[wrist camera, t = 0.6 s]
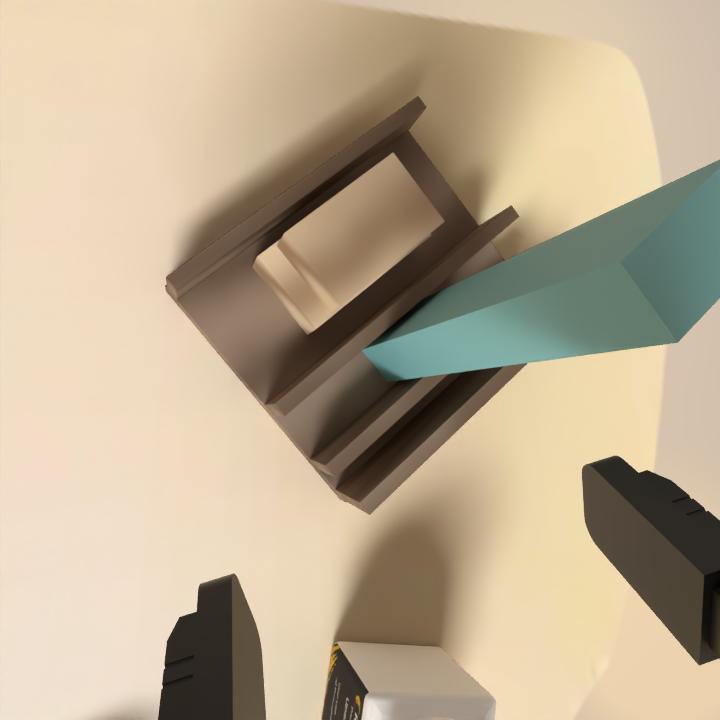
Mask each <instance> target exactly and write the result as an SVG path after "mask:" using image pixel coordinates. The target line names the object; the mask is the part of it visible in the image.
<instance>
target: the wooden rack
mask: <svg viewBox="0 0 720 720" xmlns="http://www.w3.org/2000/svg"><path fill="white" fill-rule="evenodd" d="M425 109H426V106H425V105H424V103H423V102H422V101H421V99H420V98H419V96H418V97H416V98H415V99H413V100H412V101H411V102H409V103H408V104H406V105H405V106H404V107H402V108H401V109H399V110H398V111H397V112H395V113H394V114H393V115H391V116H390V117H388V118H387V119H386V120H384V121H383V122H381V123H380V124H379V125H377V126H376V127H374V128H373V129H372V130H370V131H369V132H367V133H366V134H365V135H363V136H362V137H360V138H359V139H358V140H356V141H355V142H353V143H352V144H351V145H349V146H348V147H346V148H345V149H344V150H342V151H341V152H340V153H338V154H337V155H335V156H334V157H333V158H331V159H330V160H328V161H327V162H326V163H324V164H323V165H321V166H320V167H319V168H317V169H316V170H314V171H313V172H312V173H310V174H309V175H307V176H306V177H305V178H303V179H302V180H300V181H299V182H298V183H296V184H295V185H293V186H292V187H291V188H289V189H288V190H287V191H285V192H284V193H282V194H281V195H280V196H278V197H277V198H275V199H274V200H273V201H271V202H270V203H268V204H267V205H266V206H264V207H263V208H261V209H260V210H259V211H257V212H256V213H254V214H253V215H252V216H250V217H249V218H247V219H246V220H245V221H243V222H242V223H240V224H239V225H238V226H236V227H235V228H233V229H232V230H231V231H229V232H228V233H227V234H225V235H224V236H222V237H221V238H220V239H218V240H217V241H215V242H214V243H213V244H211V245H210V246H208V247H207V248H206V249H204V250H203V251H201V252H200V253H199V254H197V255H196V256H194V257H193V258H192V259H190V260H189V261H187V262H186V263H185V264H183V265H182V266H180V267H179V268H178V269H176V270H175V271H174V272H172V273H171V274H169V275H168V276H167V277H166V281H167V285H166V286H165V287H166V292H167V293H168V294H169V295H170V296H171V297H172V299H173V300H174V301H175V302H176V303H177V305H178V306H179V307H180V308H181V309H182V311H183V312H184V313H185V314H186V315H187V317H188V318H189V319H190V320H191V321H192V323H193V324H194V325H195V326H196V327H197V329H198V330H199V331H200V332H201V333H202V335H203V336H204V337H205V338H206V339H207V341H208V342H209V343H210V344H211V345H212V347H213V348H214V349H215V350H216V351H217V353H218V354H219V355H220V356H221V357H222V359H223V360H224V361H225V362H226V363H227V364H228V366H229V367H230V368H231V369H232V370H233V372H234V373H235V374H236V375H237V376H238V378H239V379H240V380H241V381H242V382H243V384H244V385H245V386H246V387H247V388H248V390H249V391H250V392H251V393H252V394H253V396H254V397H255V398H256V399H257V400H258V402H259V403H260V404H261V405H262V406H263V408H264V409H265V410H266V411H267V412H268V414H269V415H270V416H271V417H272V418H273V420H274V421H275V422H276V423H277V424H278V426H279V427H280V428H281V429H282V430H283V431H284V433H285V434H286V435H287V436H288V437H289V439H290V440H291V441H292V442H293V443H294V445H295V446H296V447H297V448H298V449H299V451H300V452H301V453H302V454H303V455H304V457H305V458H306V459H307V460H308V461H309V463H310V464H311V465H312V466H313V467H314V469H315V470H316V471H317V472H318V473H319V475H320V476H321V477H322V478H323V479H324V481H325V482H326V483H327V484H328V485H329V487H330V488H331V489H332V490H333V491H334V493H335V494H336V495H337V496H338V497H339V498H340V499H341V500H343V501H344V502H348V503H350V504H352V505H354V506H355V507H357V508H359V509H361V510H362V511H364V512H366V513H367V514H369V515H370V514H371V513H372V512H373V511H374V510H375V509H376V508H377V507H378V506H379V505H380V504H381V503H382V502H384V501H385V500H386V499H387V498H388V497H389V496H390V495H391V494H392V493H393V492H394V491H395V490H396V489H397V488H398V487H399V486H400V485H401V484H402V483H403V482H404V481H405V480H406V479H407V478H409V477H410V476H411V475H412V474H413V473H414V472H415V471H416V470H417V469H418V468H419V467H420V466H421V465H422V464H423V463H424V462H425V461H426V460H427V459H428V458H429V457H430V456H431V455H432V454H434V453H435V452H436V451H437V450H438V449H439V448H440V447H441V446H442V445H443V444H444V443H445V442H446V441H447V440H448V439H449V438H450V437H451V436H452V435H453V434H454V433H455V432H456V431H458V430H459V429H460V428H461V427H462V426H463V425H464V424H465V423H466V422H467V421H468V420H469V419H470V418H471V417H472V416H473V415H474V414H475V413H476V412H477V411H478V410H479V409H480V408H481V407H483V406H484V405H485V404H486V403H487V402H488V401H489V400H490V399H491V398H492V397H493V396H494V395H495V394H496V393H497V392H498V391H499V390H500V389H501V388H502V387H503V386H504V385H505V384H506V383H508V382H509V381H510V380H511V379H512V378H513V377H514V376H515V375H516V374H517V373H518V372H519V371H520V370H521V369H522V368H523V367H524V366H525V365H526V364H527V363H523V364H516V365H509V366H501V367H494V368H487V369H479V370H472V371H465V372H457V373H450V374H443V375H435V376H428V377H421V378H413V379H406V380H399V381H391V382H386V380H385V379H384V378H383V377H382V375H381V374H380V373H379V372H378V370H377V369H376V368H375V367H374V365H373V364H372V363H371V362H370V360H369V359H368V358H367V357H366V355H365V354H364V353H363V352H362V350H363V349H364V348H366V347H367V346H368V345H369V344H370V343H371V342H373V341H374V340H375V339H376V338H377V337H378V336H380V335H381V334H382V333H383V332H384V331H385V330H387V329H388V328H389V327H390V326H391V325H393V324H394V323H395V322H396V321H397V320H398V319H400V318H401V317H402V316H403V315H404V314H405V313H407V312H408V311H409V310H410V309H411V308H412V307H414V306H415V305H416V304H417V303H418V302H420V301H421V300H422V299H423V298H426V297H428V296H430V295H432V294H434V293H436V292H438V291H440V290H443V289H445V288H447V287H449V286H451V285H453V284H455V283H458V282H460V281H462V280H464V279H466V278H468V277H470V276H473V275H475V274H477V273H479V272H481V271H483V270H485V269H487V268H490V267H492V266H494V265H496V264H498V263H500V262H502V261H505V260H504V259H503V258H502V256H501V255H500V254H499V252H498V251H497V250H496V248H495V247H494V246H493V244H492V243H491V242H490V241H491V240H492V239H494V238H495V237H496V236H497V235H498V234H499V233H501V232H502V231H503V230H504V229H505V228H506V227H508V226H509V225H510V224H511V223H512V222H513V221H515V220H516V219H517V218H518V217H519V215H518V214H517V212H516V211H515V210H514V208H513V207H512V206H510V207H508V208H507V209H505V210H503V211H502V212H500V213H499V214H497V215H495V216H494V217H492V218H491V219H489V220H487V221H486V222H484V223H483V224H481V225H478V224H477V223H476V221H475V220H474V219H473V217H472V216H471V215H470V213H469V212H468V211H467V209H466V208H465V207H464V205H463V204H462V203H461V201H460V200H459V198H458V197H457V196H456V194H455V193H454V192H453V190H452V189H451V188H450V186H449V185H448V184H447V182H446V181H445V180H444V178H443V177H442V176H441V174H440V173H439V172H438V170H437V169H436V168H435V166H434V165H433V164H432V162H431V161H430V159H429V158H428V157H427V155H426V154H425V153H424V151H423V150H422V149H421V147H420V146H419V145H418V143H417V142H416V141H415V139H414V138H413V137H412V135H411V134H410V133H409V131H408V130H409V129H410V128H411V126H412V125H413V124H414V122H415V121H416V120H417V119H418V117H419V116H420V115H421V114H422V112H423V111H424V110H425ZM392 153H394V154H395V155H396V157H397V158H398V159H399V161H400V162H401V163H402V165H403V166H404V167H405V169H406V170H407V171H408V173H409V174H410V175H411V177H412V178H413V179H414V181H415V182H416V183H417V185H418V186H419V187H420V189H421V190H422V191H423V193H424V194H425V195H426V197H427V198H428V199H429V201H430V202H431V203H432V205H433V206H434V207H435V209H436V210H437V211H438V213H439V214H440V215H441V217H442V218H443V219H444V221H445V222H444V223H442V224H441V225H440V226H439V227H437V228H436V229H435V230H434V231H433V232H431V233H430V234H431V236H430V237H429V238H428V239H426V240H425V241H424V242H423V243H421V244H420V245H419V246H418V247H416V248H415V249H414V250H413V251H412V252H410V253H409V254H408V255H407V256H405V257H404V258H403V259H402V260H400V261H399V262H398V263H397V264H396V265H394V266H393V267H392V268H391V269H389V270H388V271H387V272H386V273H385V274H383V275H382V276H381V277H380V278H378V279H377V280H376V281H375V282H373V283H372V284H371V285H370V286H369V287H367V288H366V289H365V290H364V291H362V292H361V293H360V294H359V295H358V296H356V297H355V298H354V299H353V300H351V301H350V302H349V303H348V304H346V305H345V306H344V307H343V308H342V309H340V310H339V311H338V312H337V313H335V314H334V315H333V316H332V317H331V318H329V319H328V320H327V321H326V322H324V323H323V324H322V325H321V326H319V327H318V328H317V329H316V330H314V331H312V332H311V333H309V334H308V335H307V334H306V333H305V332H304V330H303V329H302V328H301V327H300V325H299V324H298V323H297V322H296V320H295V319H294V318H293V317H292V315H291V314H290V313H289V312H288V310H287V309H286V308H285V307H284V306H283V304H282V303H281V302H280V301H279V299H278V298H277V297H276V296H275V294H274V293H273V292H272V291H271V289H270V288H269V287H268V286H267V285H266V283H265V282H264V281H263V280H262V278H261V277H260V276H259V275H258V273H257V272H256V271H255V270H254V268H253V265H254V262H255V260H256V258H257V256H258V255H260V254H261V253H262V252H264V251H265V250H266V249H268V248H269V247H270V246H272V245H273V244H274V243H276V242H277V241H278V240H280V239H281V238H282V236H283V235H284V233H285V232H286V231H288V230H289V229H290V228H292V227H293V226H294V225H296V224H297V223H299V222H300V221H301V220H303V219H304V218H305V217H307V216H308V215H309V214H311V213H312V212H313V211H315V210H316V209H317V208H319V207H320V206H321V205H323V204H324V203H326V202H327V201H328V200H330V199H331V198H332V197H334V196H335V195H336V194H338V193H339V192H340V191H342V190H343V189H344V188H346V187H347V186H348V185H350V184H351V183H352V182H354V181H355V180H357V179H358V178H359V177H361V176H362V175H363V174H365V173H366V172H367V171H369V170H370V169H371V168H373V167H374V166H375V165H377V164H378V163H379V162H381V161H382V160H383V159H385V158H386V157H388V156H389V155H390V154H392Z"/></svg>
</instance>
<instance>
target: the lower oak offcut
mask: <svg viewBox="0 0 720 720" xmlns="http://www.w3.org/2000/svg"><path fill="white" fill-rule="evenodd" d="M430 236H431V234H429V235H428V236H426V237H425V238H424V239H423V240H421V241H420V242H419V243H418V244H417V245H415V246H414V247H413V248H412V249H410V250H409V251H408V252H407V253H405V254H404V255H403V256H402V257H401V258H399V259H398V260H397V261H396V262H394V263H393V264H392V265H391V266H390V267H388V268H387V269H386V270H385V271H383V272H382V273H381V274H380V275H378V276H377V277H376V278H375V279H374V280H372V281H371V282H370V283H369V284H367V285H366V286H365V287H364V288H362V289H361V290H360V291H359V292H358V293H356V294H355V295H354V296H353V297H351V298H350V299H349V300H348V301H346V302H345V303H344V304H343V305H341V306H340V307H338V308H337V309H336V310H334V311H333V312H331V313H330V312H329V311H328V310H327V308H326V307H325V306H324V305H323V303H322V302H321V301H320V300H319V298H318V297H317V296H316V295H315V293H314V292H313V291H312V290H311V288H310V287H309V286H308V285H307V283H306V282H305V281H304V279H303V278H302V277H301V276H300V274H299V273H298V272H297V271H296V269H295V268H294V267H293V266H292V264H291V263H290V262H289V261H288V259H287V258H286V257H285V256H284V254H283V253H282V252H281V251H280V249H279V248H278V247H277V245H278V244H279V242H280V240H281V239H280V240H278V241H277V242H276V243H274V244H273V245H272V246H270V247H269V248H268V249H266V250H265V251H264V252H262V253H261V254H260V255H258V256H257V258H256V260H255V262H254V265H253V268H254V270H255V271H256V272H257V273H258V275H259V276H260V277H261V278H262V280H263V281H264V282H265V283H266V285H267V286H268V287H269V288H270V289H271V291H272V292H273V293H274V294H275V296H276V297H277V298H278V299H279V301H280V302H281V303H282V304H283V306H284V307H285V308H286V309H287V310H288V312H289V313H290V314H291V315H292V317H293V318H294V319H295V320H296V322H297V323H298V324H299V325H300V327H301V328H302V329H303V330H304V332H305V333H306V334H307V335H308V334H309V333H311V332H312V331H314V330H316V329H317V328H318V327H319V326H321V325H322V324H323V323H324V322H326V321H327V320H328V319H329V318H331V317H332V316H333V315H334V314H335V313H337V312H338V311H339V310H340V309H342V308H343V307H344V306H345V305H346V304H348V303H349V302H350V301H351V300H353V299H354V298H355V297H356V296H358V295H359V294H360V293H361V292H362V291H364V290H365V289H366V288H367V287H369V286H370V285H371V284H372V283H373V282H375V281H376V280H377V279H378V278H380V277H381V276H382V275H383V274H385V273H386V272H387V271H388V270H389V269H391V268H392V267H393V266H394V265H396V264H397V263H398V262H399V261H400V260H402V259H403V258H404V257H405V256H407V255H408V254H409V253H410V252H412V251H413V250H414V249H415V248H416V247H418V246H419V245H420V244H421V243H423V242H424V241H425V240H426V239H428V238H429V237H430Z"/></svg>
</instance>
